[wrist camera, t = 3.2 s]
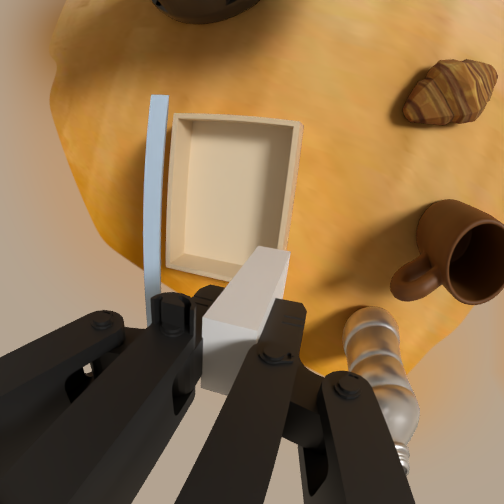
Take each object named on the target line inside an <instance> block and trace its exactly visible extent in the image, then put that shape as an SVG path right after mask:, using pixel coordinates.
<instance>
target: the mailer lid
mask: <svg viewBox="0 0 504 504" xmlns="http://www.w3.org/2000/svg"><path fill="white" fill-rule="evenodd" d="M168 104H169V95H151V101H150V110H149V120H148V130H147V143H146V157H145V175H144V204H143V253H144V280H145V300H146V315H147V327H148V326H149V325H150V324H151V323H152V319H151V301H150V298H151V297H153V296H155V295H157V294H161V209H162V185H163V168H164V153H165V141H166V130H167V120H168Z"/></svg>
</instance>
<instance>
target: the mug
mask: <svg viewBox="0 0 504 504" xmlns="http://www.w3.org/2000/svg"><path fill="white" fill-rule="evenodd" d="M416 239H417V245H418V249H419V252H420V254H421V255H420V256H419V257H417V258H416V259H415V260H413V261H411V262H409V263H407V264H406V265H404V266H403V267H401V268H400V269H399V270H398V271H397V272H396V273H395V274H394V276H393V277H392V280H391V283H390V288H391V292H392V294H393V295H394V297H395V298H397V299H399V300H401V301H414V300H418V299H421V298H423V297H425V296H427V295H428V294H430V293H431V292H432V291H434V290H435V289H436V288H438V287H439V286H440V285H443V286H444V287H445V288H446V289H447V290H448V291H449V292H450V293H451V294H452V295H453V297H454V298H455V299H457V300H458V301H460V302H462V303H464V304H468V305H478V304H482V303H485V302H487V301H489V300H491V299H493V298H494V297H495V296H496V295H498V294H499V293H500V292H501V291H502V289H503V288H504V224H502V223H501V222H500V221H498V220H497V219H495V218H494V217H492V216H491V215H489V214H487V213H485V212H483V211H481V210H479V209H476V208H474V207H472V206H470V205H467V204H465V203H462V202H460V201H457V200H451V199H447V200H441V201H438V202H436V203H434V204H433V205H431V206H430V207H429V208H428V209H427V210H426V211H425V212H424V214H423V215H422V217H421V219H420V221H419V224H418V227H417V234H416Z"/></svg>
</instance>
